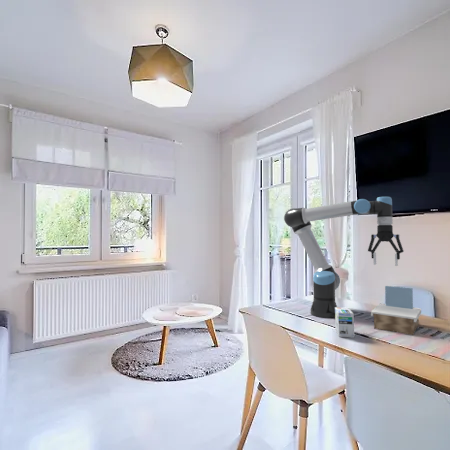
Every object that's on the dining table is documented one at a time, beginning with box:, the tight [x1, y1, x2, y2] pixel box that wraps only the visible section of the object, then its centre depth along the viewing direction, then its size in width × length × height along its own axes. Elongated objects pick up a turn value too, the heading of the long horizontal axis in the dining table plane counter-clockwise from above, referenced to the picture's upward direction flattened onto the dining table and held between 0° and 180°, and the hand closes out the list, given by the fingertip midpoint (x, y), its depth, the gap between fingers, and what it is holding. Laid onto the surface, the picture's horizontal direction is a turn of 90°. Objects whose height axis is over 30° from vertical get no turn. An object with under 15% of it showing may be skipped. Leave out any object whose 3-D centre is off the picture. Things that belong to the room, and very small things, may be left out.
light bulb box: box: [334, 306, 355, 339], centre depth 140 cm, size 11×7×11 cm, turn 168°
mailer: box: [373, 314, 420, 336], centre depth 150 cm, size 16×20×7 cm
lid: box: [370, 285, 422, 322], centre depth 150 cm, size 18×21×12 cm
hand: (385, 264), depth 170 cm, fingers open, 10 cm apart
